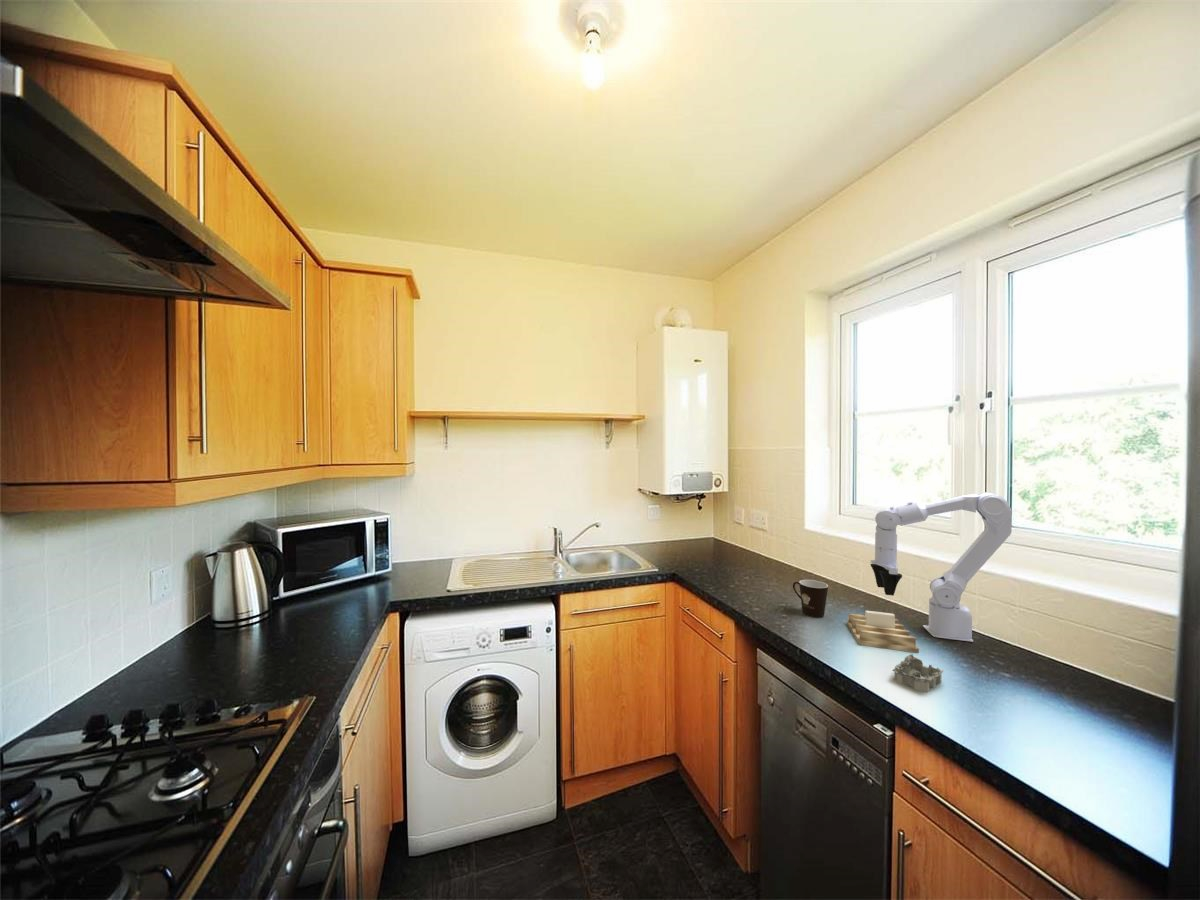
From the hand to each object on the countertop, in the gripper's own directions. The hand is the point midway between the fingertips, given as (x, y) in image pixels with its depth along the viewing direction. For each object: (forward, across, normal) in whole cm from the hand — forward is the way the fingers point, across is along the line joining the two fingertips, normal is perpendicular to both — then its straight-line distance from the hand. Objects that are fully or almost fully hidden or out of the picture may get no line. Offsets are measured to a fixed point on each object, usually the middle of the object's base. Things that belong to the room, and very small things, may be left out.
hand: (885, 590), depth 133 cm
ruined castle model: (+10, +37, -4) cm, 38 cm away
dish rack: (+10, +13, -5) cm, 17 cm away
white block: (+9, +13, -5) cm, 17 cm away
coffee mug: (+10, -1, -21) cm, 23 cm away
